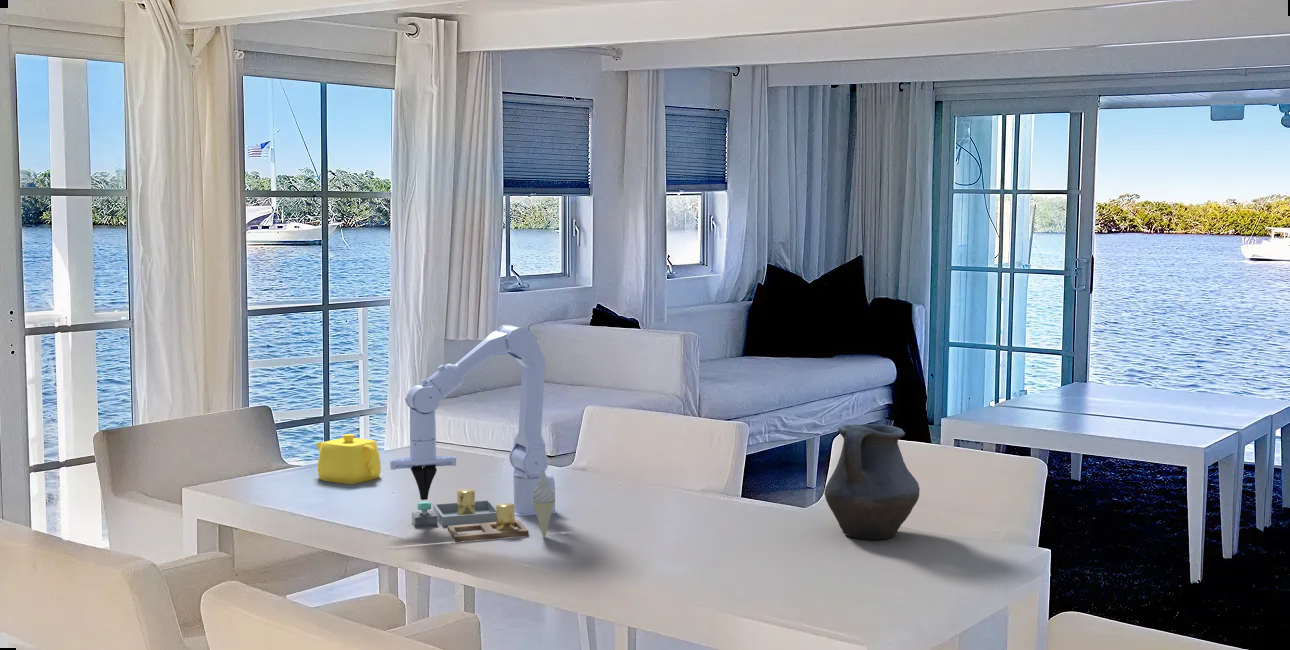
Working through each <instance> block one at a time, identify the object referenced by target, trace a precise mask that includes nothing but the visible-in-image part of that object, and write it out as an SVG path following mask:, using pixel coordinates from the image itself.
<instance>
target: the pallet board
mask: <svg viewBox="0 0 1290 650" xmlns="http://www.w3.org/2000/svg"><path fill="white" fill-rule="evenodd" d="M515 527H516V528H515V529H513V530H501V531H497V530H495V529H497V523H496V522H488V523H475V524H463V525H451V526H447V531H448V532H449V534H450V535H451V537H452V538H453V540H454V542H455V543H459V542H461V543H462V541H464V542H473V541H474V542H475V541H485V540H495V539H508V538H509V539H510V538H521V537H529V531H530V530H529V529H528V528H527V527H526V526H525V525H524V524H523V523H522V522H521V521H520V520H519V519H515ZM474 530H481V531H480V532H467V533H458V532H460V531H461V532H462V531H474Z"/></svg>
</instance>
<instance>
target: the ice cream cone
mask: <svg viewBox="0 0 1290 650" xmlns="http://www.w3.org/2000/svg"><path fill="white" fill-rule="evenodd" d="M546 474H547V473H546V471H545V472H544V469H543V471H542V474H541V476H540V479H539V480H538V485H537V487H536V488H535V490H534V491H533V492H532V493H533V497H532V499H533V500H532V502H533V504H534V507H535V511H536V514H537V515H536V518H537V521H538V525H539V528H540V531H541V533H542V538H546V537H547V531H548V528H549V523H550V520H551V518H552V514H553V513H552V509H553V505H554V502H555V503H556V490H555V491H554V489H553V488H552V487H551V486H550V484H549V483H550V481H549V480H548V478H547V476H546Z"/></svg>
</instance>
